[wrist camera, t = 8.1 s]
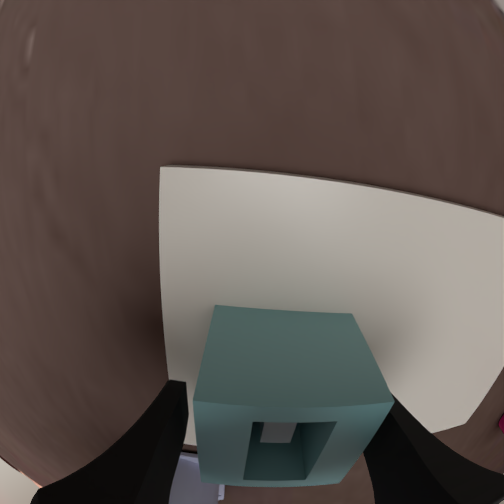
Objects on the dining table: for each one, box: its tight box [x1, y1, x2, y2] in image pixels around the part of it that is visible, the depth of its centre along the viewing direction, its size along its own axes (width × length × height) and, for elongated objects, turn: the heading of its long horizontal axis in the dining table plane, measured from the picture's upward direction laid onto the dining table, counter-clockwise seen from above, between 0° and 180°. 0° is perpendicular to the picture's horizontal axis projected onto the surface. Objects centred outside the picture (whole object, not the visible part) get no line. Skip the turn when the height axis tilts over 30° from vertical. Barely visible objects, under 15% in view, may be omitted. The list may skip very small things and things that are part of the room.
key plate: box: [159, 165, 504, 446], centre depth 11 cm, size 16×22×5 cm
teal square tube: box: [193, 305, 395, 487], centre depth 10 cm, size 6×6×5 cm
